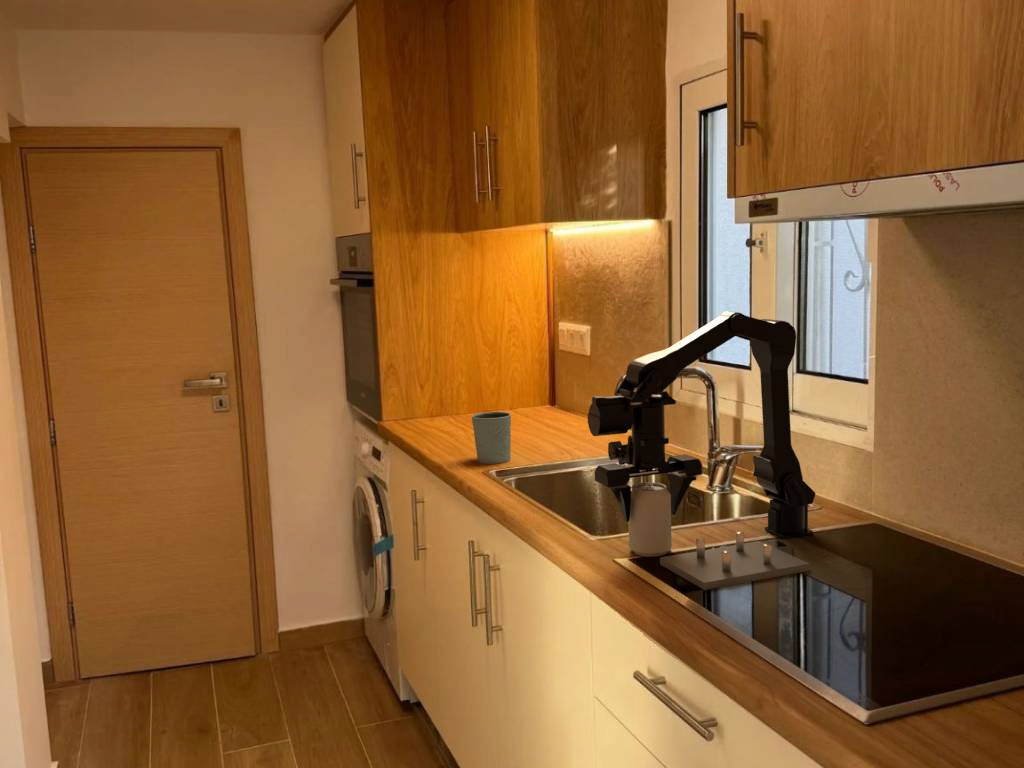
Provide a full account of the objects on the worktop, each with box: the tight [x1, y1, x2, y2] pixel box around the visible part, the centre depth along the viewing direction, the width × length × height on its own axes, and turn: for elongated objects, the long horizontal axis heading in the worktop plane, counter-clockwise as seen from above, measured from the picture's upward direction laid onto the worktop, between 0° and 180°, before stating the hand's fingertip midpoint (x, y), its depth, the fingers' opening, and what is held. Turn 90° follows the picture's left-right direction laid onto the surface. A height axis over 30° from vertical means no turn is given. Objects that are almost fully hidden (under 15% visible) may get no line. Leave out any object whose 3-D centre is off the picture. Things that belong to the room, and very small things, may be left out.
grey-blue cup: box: [471, 411, 512, 465], centre depth 252 cm, size 10×10×12 cm
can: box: [627, 482, 673, 558], centre depth 173 cm, size 8×8×12 cm
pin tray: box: [659, 531, 811, 591], centre depth 163 cm, size 20×14×4 cm
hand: (649, 517), depth 173 cm, fingers open, 9 cm apart
